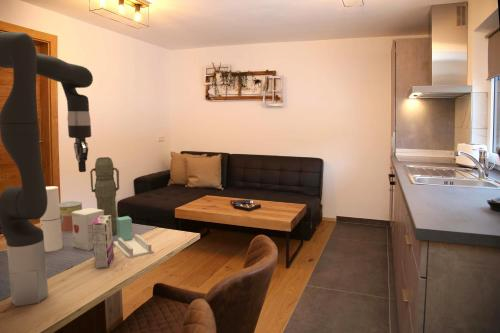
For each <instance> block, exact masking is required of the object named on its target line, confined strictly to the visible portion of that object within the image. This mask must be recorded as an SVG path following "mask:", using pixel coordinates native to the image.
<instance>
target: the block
mask: <svg viewBox="0 0 500 333" xmlns="http://www.w3.org/2000/svg"><path fill="white" fill-rule="evenodd" d="M132 220H133V219H132V218H131V217H130V216H129V215H126V216H121V217H116V225H117V235H116V239H118V238H120V237H121V238H122V239H123V240H124V241H125V240H130V239H132V238H133V222H132Z"/></svg>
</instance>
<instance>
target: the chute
mask: <svg viewBox="0 0 500 333" xmlns="http://www.w3.org/2000/svg"><path fill="white" fill-rule="evenodd" d="M113 246H115V247H116V248H117V249H118V250H119V251H120V252H121V253H122V254H123V255H124V256H125V258H127V259H131V258H136V257H139V256H141V257H142V256H144V255H150V254H153V253H154V252H155V251H154V250H153V249H152V244H151V243H150V242H148V241H147V240H146V239H145V238H143V237H142V236H140V235H139V234H138V233H137V234H134V237H132V239H130V240H125V241H124V240H123V239H122V238H121V237H120V238H117V240H116V241H113Z"/></svg>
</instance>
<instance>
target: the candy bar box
mask: <svg viewBox="0 0 500 333" xmlns="http://www.w3.org/2000/svg"><path fill="white" fill-rule="evenodd" d="M92 232H93V245H94V249H93V254H94V255H93V257H94V258H93V259H94V269H104V268H107V269H108V268H109V267H110V266H111V263H112V261H113V259H114V256H115V255H114V244H113V242H114V241H113V240H114V239H113V237H114V236H112V223H111V215H103V216H102V215H101V216H98V217H97V218H96V220H95V221H94V222H93V224H92Z"/></svg>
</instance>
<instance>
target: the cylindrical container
mask: <svg viewBox="0 0 500 333" xmlns="http://www.w3.org/2000/svg"><path fill="white" fill-rule="evenodd" d="M46 191H47V209H46V212H45V214H44V215H43V216H42V217H41V218H39V223H40V229H42V231H43V234H44V247H45V253H47V252H48V253H49V252H56V251H60V250H62V249H63V237H62V236H63V235H62V234H63V232H61V220H60V206H59V203H60V198H59V197H60V195H59V187H58V186H52V185H51V186H46Z"/></svg>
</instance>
